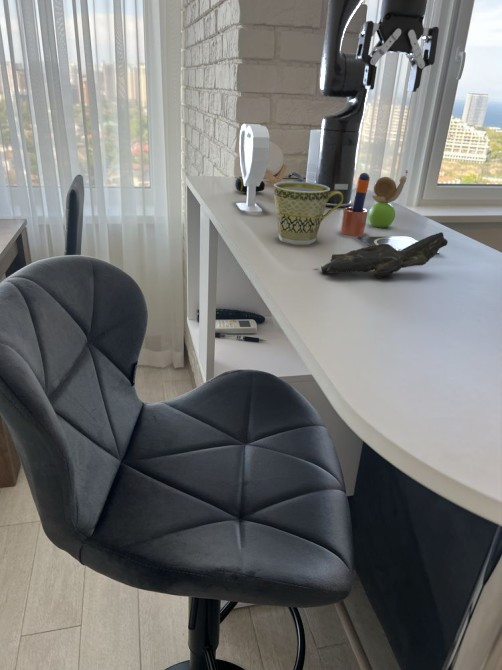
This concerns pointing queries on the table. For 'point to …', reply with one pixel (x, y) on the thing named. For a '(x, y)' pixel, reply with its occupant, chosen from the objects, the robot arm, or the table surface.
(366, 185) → the marker
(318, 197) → the ceramic cup
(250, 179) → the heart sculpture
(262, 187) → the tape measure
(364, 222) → the pen pot
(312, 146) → the cosmetic box
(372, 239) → the shiny silver plate
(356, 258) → the dark brown elongated chunk
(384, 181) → the snail figurine
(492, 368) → the table surface
